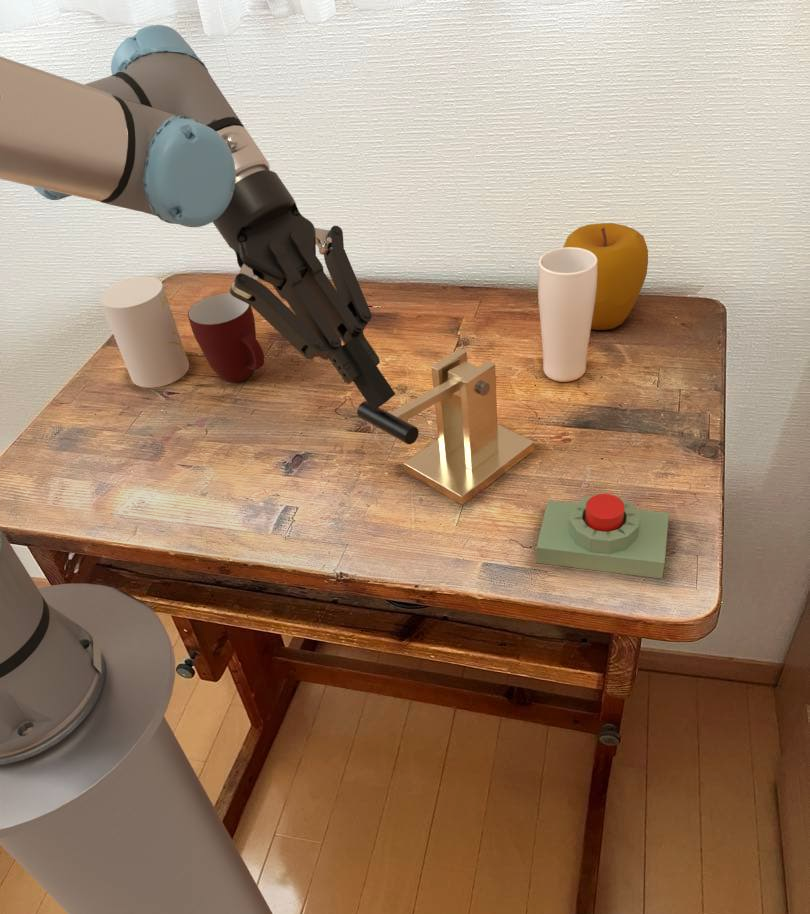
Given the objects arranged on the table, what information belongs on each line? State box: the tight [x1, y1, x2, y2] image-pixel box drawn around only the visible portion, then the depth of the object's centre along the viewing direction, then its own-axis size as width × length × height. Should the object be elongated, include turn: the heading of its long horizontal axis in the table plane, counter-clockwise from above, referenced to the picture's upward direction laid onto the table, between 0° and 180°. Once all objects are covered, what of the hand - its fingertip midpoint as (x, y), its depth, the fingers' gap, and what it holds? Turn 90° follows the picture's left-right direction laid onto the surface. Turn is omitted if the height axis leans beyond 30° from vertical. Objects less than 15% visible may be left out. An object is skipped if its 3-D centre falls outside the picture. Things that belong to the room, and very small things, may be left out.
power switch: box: [403, 348, 535, 506], centre depth 90 cm, size 12×9×13 cm
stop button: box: [585, 493, 625, 532], centre depth 80 cm, size 4×4×2 cm
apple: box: [562, 222, 649, 331], centre depth 109 cm, size 11×11×13 cm
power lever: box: [356, 361, 479, 445], centre depth 84 cm, size 13×7×2 cm, turn 134°
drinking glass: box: [537, 247, 598, 383], centre depth 100 cm, size 7×7×15 cm
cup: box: [99, 276, 190, 389], centre depth 112 cm, size 8×8×12 cm
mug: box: [187, 292, 266, 384], centre depth 109 cm, size 10×8×10 cm
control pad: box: [535, 493, 670, 579], centre depth 82 cm, size 12×7×4 cm, turn 74°
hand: (384, 402), depth 80 cm, fingers closed
